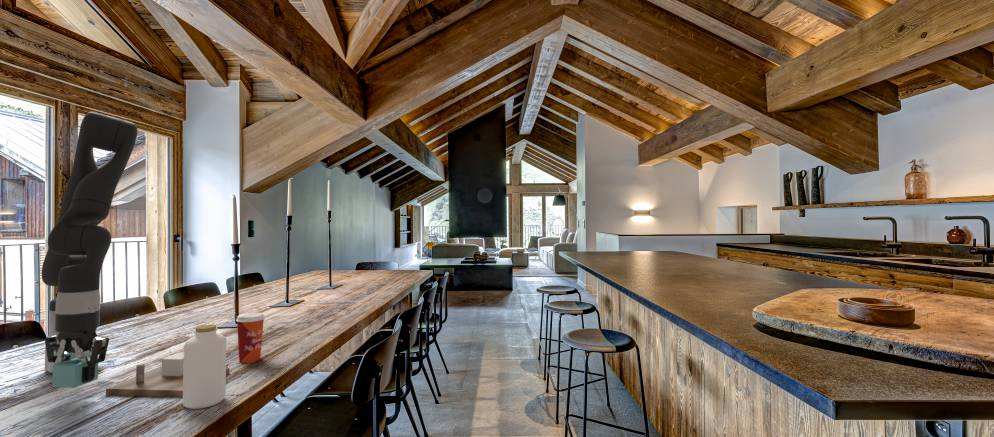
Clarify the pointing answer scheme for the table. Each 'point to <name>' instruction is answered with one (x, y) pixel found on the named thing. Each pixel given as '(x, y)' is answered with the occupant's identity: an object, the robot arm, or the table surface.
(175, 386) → the pin base
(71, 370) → the teal boxy piece
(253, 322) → the paper cup
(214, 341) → the white plastic bottle
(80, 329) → the robot arm
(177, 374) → the block
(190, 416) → the table surface
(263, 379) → the table surface
